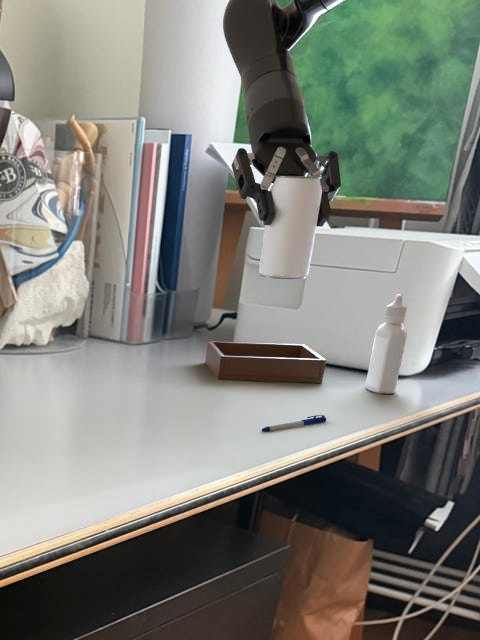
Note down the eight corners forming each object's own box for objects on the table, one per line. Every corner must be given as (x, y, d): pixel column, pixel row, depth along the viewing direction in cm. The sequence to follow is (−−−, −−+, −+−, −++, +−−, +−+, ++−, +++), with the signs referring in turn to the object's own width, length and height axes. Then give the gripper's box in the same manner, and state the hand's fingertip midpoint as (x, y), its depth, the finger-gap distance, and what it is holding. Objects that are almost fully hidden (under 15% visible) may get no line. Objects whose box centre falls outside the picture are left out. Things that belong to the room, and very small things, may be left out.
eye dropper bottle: (357, 391, 124) (376, 295, 118) (367, 384, 128) (386, 291, 122) (391, 395, 122) (412, 298, 116) (401, 388, 126) (421, 294, 120)
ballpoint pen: (320, 421, 109) (322, 412, 109) (326, 423, 108) (328, 414, 108) (260, 432, 103) (261, 423, 103) (266, 434, 103) (268, 425, 102)
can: (311, 276, 126) (327, 176, 120) (303, 280, 121) (320, 177, 115) (262, 272, 128) (276, 175, 123) (253, 277, 123) (267, 175, 117)
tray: (301, 366, 138) (304, 344, 137) (322, 383, 128) (326, 360, 126) (205, 362, 139) (207, 341, 137) (217, 379, 128) (220, 356, 127)
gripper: (234, 93, 120) (253, 198, 115) (339, 97, 122) (363, 201, 117) (215, 140, 127) (232, 241, 123) (315, 143, 129) (336, 243, 124)
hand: (296, 221), depth 120 cm, fingers closed on can, 6 cm apart
